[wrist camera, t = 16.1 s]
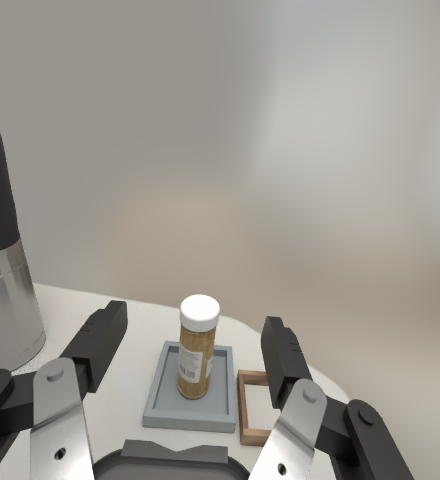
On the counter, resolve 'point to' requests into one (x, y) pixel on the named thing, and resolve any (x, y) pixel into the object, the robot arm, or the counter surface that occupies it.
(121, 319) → the robot arm
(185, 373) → the sprinkles bottle
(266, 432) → the wooden picture frame
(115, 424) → the counter surface
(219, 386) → the slate tray
